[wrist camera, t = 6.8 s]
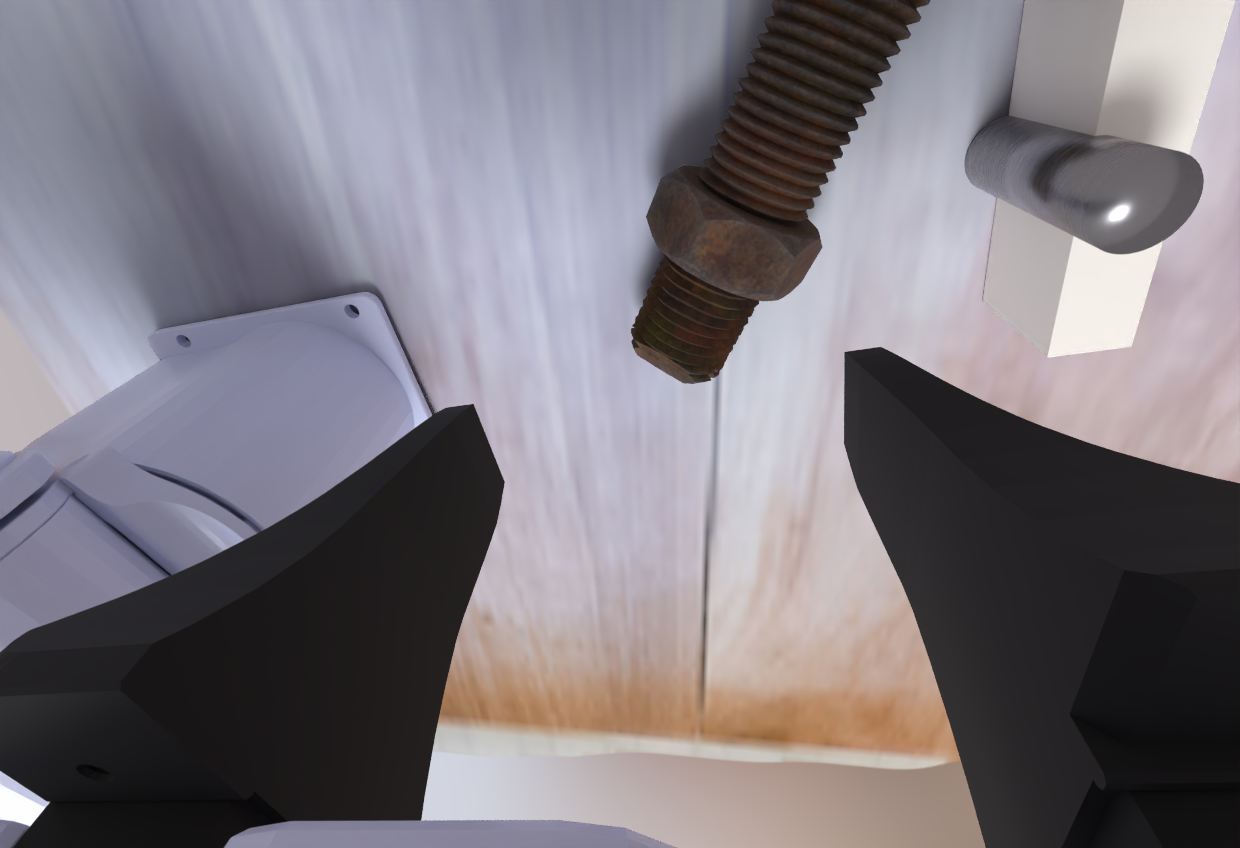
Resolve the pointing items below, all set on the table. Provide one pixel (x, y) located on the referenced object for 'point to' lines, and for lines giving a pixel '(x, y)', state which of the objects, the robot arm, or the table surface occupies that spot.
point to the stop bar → (1094, 163)
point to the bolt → (762, 180)
